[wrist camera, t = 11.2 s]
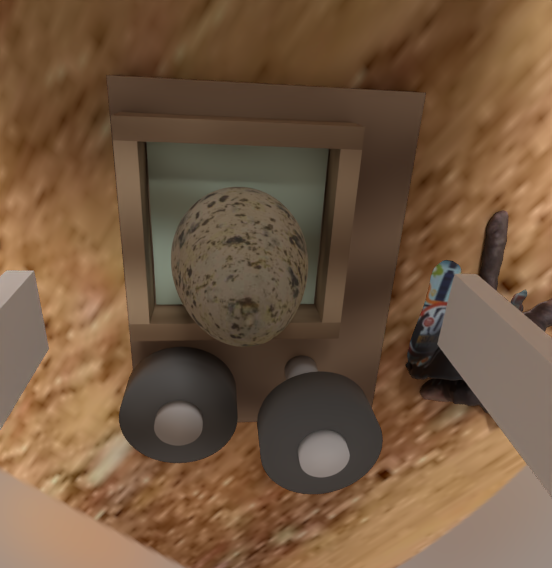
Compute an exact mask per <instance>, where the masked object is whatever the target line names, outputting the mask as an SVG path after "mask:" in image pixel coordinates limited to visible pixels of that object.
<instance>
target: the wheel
mask: <svg viewBox="0 0 552 568" xmlns="http://www.w3.org/2000/svg"><path fill="white" fill-rule="evenodd" d="M257 427H258V436H259V446H260V455H261V461H262V465H263V468H264V470H265V471H266V473H267V475H268V476H269V477H270V478H271V479H272V480H273V481H274V482H275V483H276V484H278V485H280V486H281V487H283V488H285V489H287V490H290V491H293V492H297V493H303V494H322V493H328V492H333V491H336V490H339V489H342V488H344V487H347V486H349V485H351V484H353V483H354V482H356V481H357V480H359V479H360V478H361V477H363V476H364V475H365V474H366V473H367V472H368V471H369V470H370V469H371V468H372V467H373V465H374V464H375V462H376V461H377V459H378V457H379V455H380V452H381V448H382V441H383V440H382V432H381V428H380V426H379V423H378V421H377V419H376V417H375V415H374V412H373V410H372V408H371V406H370V404H369V401H368V399H367V397H366V395H365V393H364V391H363V390H362V389H361V388H360V386H359V385H358V384H356V383H355V382H354V381H353V380H351V379H349V378H348V377H345V376H343V375H340V374H337V373H333V372H324V371H317V372H308V373H303V374H300V375H297V376H294V377H292V378H289V379H287V380H286V381H284V382H282V383H281V384H279V385H278V386H276V387H275V388H274V389H273V390H272V391H271V392H270V393H269V394H268V395H267V397H266V398H265V400H264V401H263V403H262V405H261V407H260V409H259V413H258V418H257Z"/></svg>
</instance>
